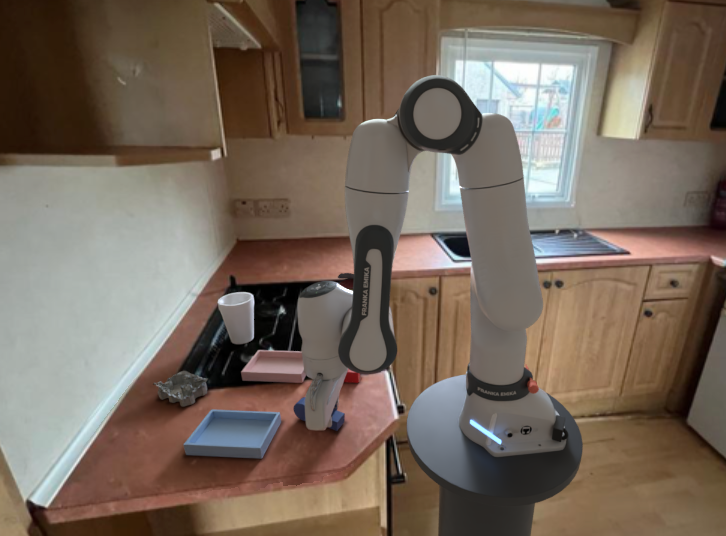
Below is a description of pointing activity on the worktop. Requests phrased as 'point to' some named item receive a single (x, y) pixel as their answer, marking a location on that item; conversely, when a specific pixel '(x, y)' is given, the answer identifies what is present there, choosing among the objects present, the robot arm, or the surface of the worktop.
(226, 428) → the blue tray
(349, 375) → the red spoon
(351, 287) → the canned food
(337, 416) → the dark blue block
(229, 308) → the foam cup
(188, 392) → the egg carton
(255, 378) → the rose tray
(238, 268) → the worktop surface
